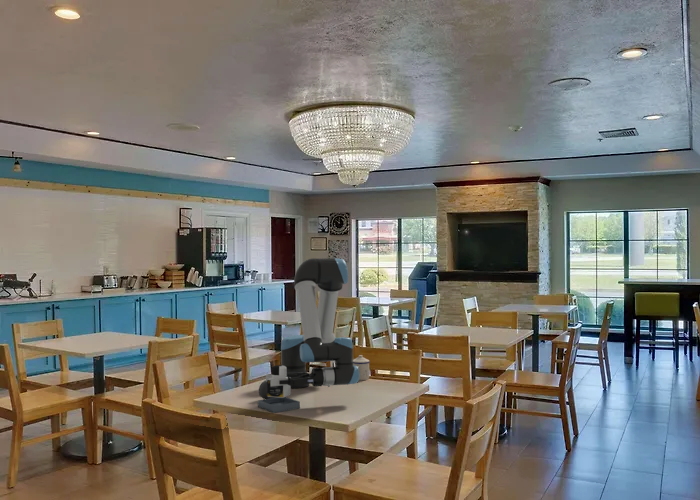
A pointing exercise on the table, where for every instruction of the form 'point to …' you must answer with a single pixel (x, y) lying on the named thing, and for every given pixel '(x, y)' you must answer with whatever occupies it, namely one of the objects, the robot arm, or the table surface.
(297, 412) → the table surface
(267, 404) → the tray
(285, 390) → the medicine bottle
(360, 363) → the teacup with lid
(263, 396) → the disc
